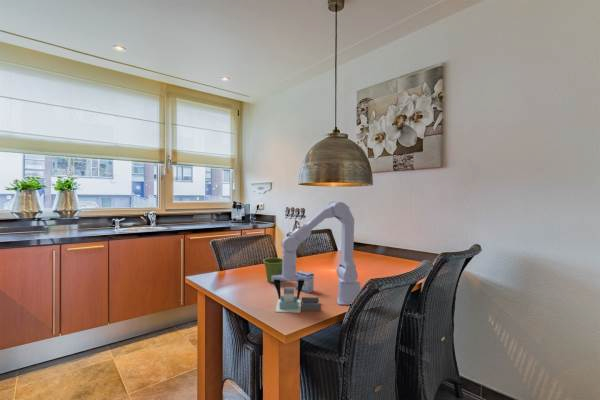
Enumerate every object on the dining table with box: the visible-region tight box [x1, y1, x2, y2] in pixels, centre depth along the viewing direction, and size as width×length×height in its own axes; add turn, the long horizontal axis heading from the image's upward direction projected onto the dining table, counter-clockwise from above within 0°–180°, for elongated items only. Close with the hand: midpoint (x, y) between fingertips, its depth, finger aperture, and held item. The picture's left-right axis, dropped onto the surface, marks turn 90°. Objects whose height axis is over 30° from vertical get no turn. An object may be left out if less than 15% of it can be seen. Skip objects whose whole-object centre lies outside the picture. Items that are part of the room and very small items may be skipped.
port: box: [275, 295, 302, 314], centre depth 125 cm, size 10×13×3 cm
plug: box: [283, 286, 295, 302], centre depth 125 cm, size 4×4×7 cm
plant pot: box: [262, 257, 282, 284], centre depth 160 cm, size 12×12×11 cm
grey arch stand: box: [301, 296, 321, 311], centre depth 125 cm, size 7×8×2 cm
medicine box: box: [295, 270, 315, 294], centre depth 146 cm, size 8×4×9 cm, turn 45°
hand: (288, 298), depth 125 cm, fingers open, 7 cm apart
